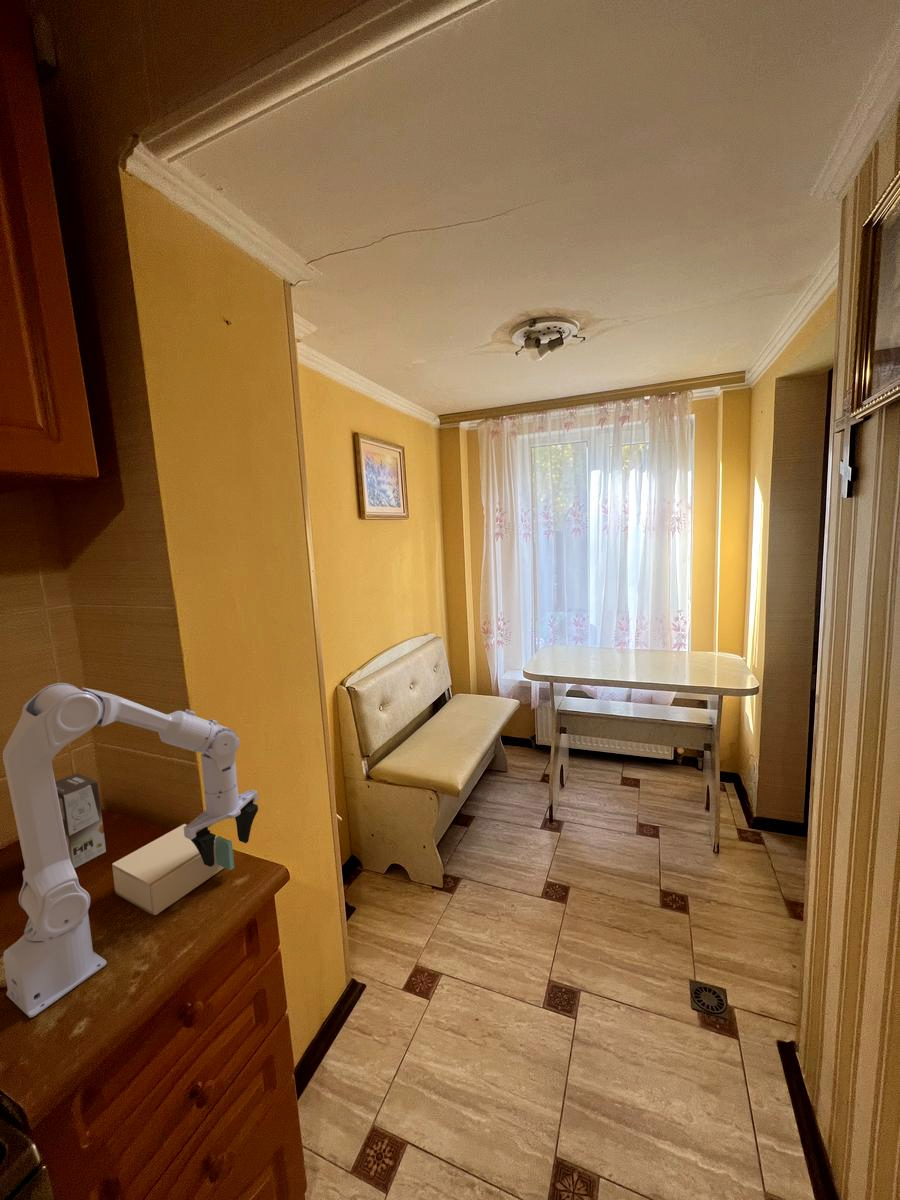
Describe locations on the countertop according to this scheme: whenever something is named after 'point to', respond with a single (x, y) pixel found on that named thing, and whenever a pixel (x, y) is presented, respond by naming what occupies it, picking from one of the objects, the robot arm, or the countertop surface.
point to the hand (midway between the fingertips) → (227, 852)
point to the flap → (190, 876)
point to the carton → (151, 866)
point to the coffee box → (81, 818)
